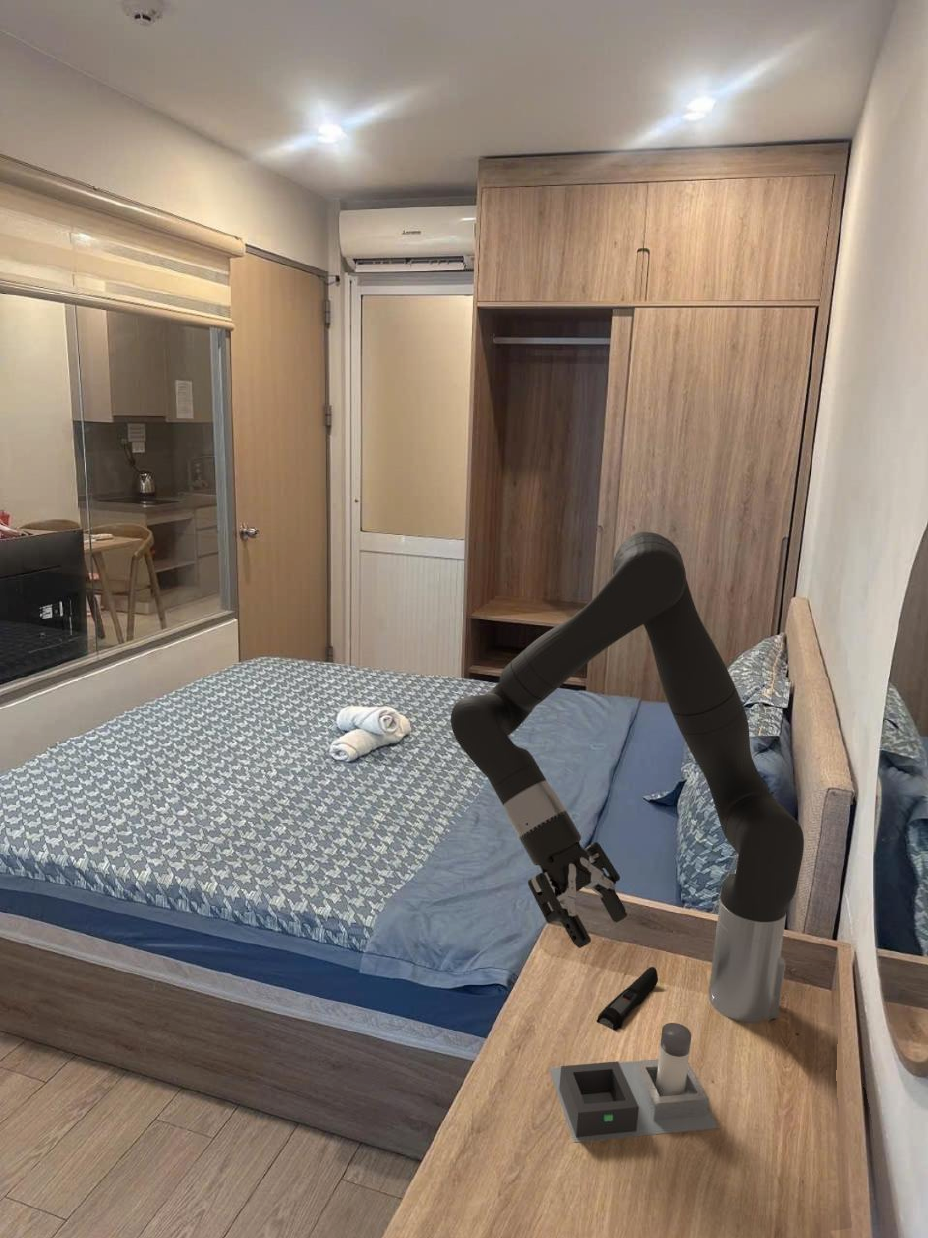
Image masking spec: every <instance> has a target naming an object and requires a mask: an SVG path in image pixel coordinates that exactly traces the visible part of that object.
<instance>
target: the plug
mask: <svg viewBox="0 0 928 1238" xmlns="http://www.w3.org/2000/svg"><path fill="white" fill-rule="evenodd" d="M691 1042H692V1032H691V1031H690V1029H689V1028H687V1026H685V1025H684V1024H680V1023H676V1022H668V1023H666V1024H664V1025H663V1026H662V1029H661V1037H660V1043H659V1044H660V1046H659V1054H658V1059H659V1062H658V1071H657V1080H656V1090H657V1092H658V1094H659V1096H660V1097H662V1096H673V1095H684V1094H685V1085H686V1077H687V1069H688V1063H689V1061H690V1060H689V1059H690V1050H691Z"/></svg>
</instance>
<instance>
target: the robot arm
mask: <svg viewBox="0 0 928 1238" xmlns="http://www.w3.org/2000/svg"><path fill="white" fill-rule="evenodd" d="M686 572H687V571H686V568H685V563H684V560H683V558H682V554H681V553H680V550H679V548H678V547H677V546H676V545H675V544H674V543H673V542H672V541H670V539H668V538H667V537H665V536H663V535H661V534H659V533H655V532H652V531H651V532H649V531H641V532H637V533H634V534H632V535H630V536H628V538H626V539H625V540H624V541H623V542H622V543H621V545H619V548H618V549H617V551H616V554H615V555H614V559H613V564H612V575H611V577H610V578H609V579H608V581H607V582H606V583H605V584H604V586H603V587H602V588H601V590H600V591H599V592H598V593H597V594H596V595H595V596H594V597H593V598H592V600H591V601H589V603H588V604H586V605H585V606H584V607H583V608H582V609H581V610H579V611H577V612H576V613H575V614H574V615H573V616H571V617H569V618H568V619H567V620H565V621H563V622H562V623H560V624H558V625H556V626H555V627H553V628H551V629H550V630H548V631H546V632H545V633H544V634H542V635H540V636H539V637H538V638H536V639H535V640H533V642H531V643H530V644H529V645H528V646H527V647H526V648H525V649H524V650H522V651H521V652H520V653H519V654H518V655H517V656H516V657H515V658H514V659H512V660H511V661H510V662H509V663H508V664H507V665H506V666H505V667H504V669H502V670H501V672H500V675H499V681H498V683H497V684H496V685H494V687H493V688H492V689H490V690H488V692H486V693H485V694H480V695H479V694H478V695H471V696H465V697H464V698H461V699H460V700H458V701H457V702H456V703H455V705H454V706H453V708H452V710H451V712H450V713H451V714H450V726H451V727H450V728H451V731H452V733H453V735H454V737H455V740H456V741H457V744H458V745H459V746H460V747H461V749H462V750H463V751H464V753H465V754H466V755H467V757H468V758H469V759H470V760H471V761H472V762H473V763H474V764H475V766H476V767H477V768H478V769H479V770H480V771H481V772H482V773H483V774H484V776H486V778H488V780H489V783H490V784H491V786H492V789H493V790H494V792H495V794H496V796H497V797H498V800H499V801H500V803H501V804H502V806H503V808H504V811H505V813H506V816H507V818H508V820H509V823H510V825H511V826H512V828H513V830H514V831H515V834H516V835H517V837H518V839H519V841H520V842H521V845H522V846H523V848H524V849H525V851H526V853H527V855H528V857H529V859H530V860H531V862H532V864H533V865H534V866H538V867H540V869H541V872H540V873H538V874H536V875H535V876H533V877H531V878H530V879H529V880H528V881H527V884H528V886H529V889H530V892H531V893H532V895H533V897H534V899H535V900H536V903H537V905H538V907H539V909H540V911H541V913H542V915H543V917H544V919H545V921H546V922H547V923H548V924H552V923H554V922H555V923H556V922H559V923H561V925H562V926H563V928H564V929H565V931H566V933H567V935H568V936H569V938H570V940H571V942H572V944H573V945H575V946H576V947H577V948H579V949H581V948H583V947H585V946H587V945H589V944H590V943H591V942H592V939H591V936H590V935H589V933H588V931H587V930H586V928H585V926H584V924H583V922H582V921H581V918H580V917H579V915H578V914H576V906H575V900H576V898H577V892H579V891H580V890H582V889H583V888H584V889H585V890H586V889H587V890H590V891H591V890H592V891H593V892H594V893H596V894H598V895H599V896H600V898H599V899H600V900H601V902H602V904H603V906H604V908H605V909H606V911H607V913H608V914H609V916H610V918H611V919H612V921H613V922H614V923H618V922H621V921H623V920H624V919H626V918H627V916H628V913H627V911H626V907H625V906H624V904H623V903H622V901H621V899H620V897H619V895H618V893H617V891H616V890H615V889H616V884H617V882H619V881H620V879H621V876H620V874H619V872H618V871H617V870H616V868H615V867H614V865H613V863H612V862H611V860H610V859H609V857H608V856H607V854H606V852H605V851H604V849H603V848H602V847H601V845H600V842H599V843H598V842H597V841H596V842H593V843H591V844H590V845H588V846H587V847H582V845H581V844H580V841H581V840H582V835H581V834H580V831H579V830H578V829H577V827H576V825H575V823H574V822H573V820H572V818H571V817H570V815H569V813H568V811H567V809H566V807H565V806H564V804H563V803H562V801H561V799H560V797H559V796H558V794H557V792H556V791H555V790H554V789H553V787H552V786H551V784H550V783H549V782H548V780H547V778H546V777H545V775H544V773H543V772H542V770H541V769H540V766H539V765H538V763H537V761H536V760H535V758H534V757H533V755H532V754H531V752H530V751H528V750H527V749H526V748H523V747H520V746H518V745H516V744H515V743H514V742H513V741H512V739H511V738H510V737H509V736H510V735H511V734H513V733H514V732H515V731H516V730H517V729H518V728H519V727H520V726H521V725H522V724H523V723H524V721H525V720H526V719H527V718H528V717H529V715H531V713H532V712H533V711H534V709H535V708H536V706H538V705H539V704H541V703H542V702H543V701H544V700H546V699H547V698H548V697H549V696H551V694H553V693H554V692H555V691H557V690H558V688H560V687H561V686H562V685H563V684H565V683H566V681H568V680H569V679H570V678H571V677H572V676H573V675H574V674H576V673H577V672H578V671H579V670H580V669H581V668H583V667H584V666H585V665H587V664H588V663H589V662H590V661H591V660H593V659H594V658H595V657H596V656H599V654H600V653H602V652H603V651H605V650H606V649H607V648H609V647H610V646H611V645H614V643H616V642H618V641H619V640H620V639H622V638H624V636H627V635H628V634H630V633H631V632H633V631H634V630H636V629H637V628H639V627H641V626H644V629H645V631H646V633H647V636H648V638H649V641H650V645H651V647H652V648H651V649H652V653H653V657H654V660H655V663H656V669H657V673H658V676H659V680H660V682H661V686H662V690H663V693H664V695H665V698H666V699H665V700H666V701H667V704H668V706H669V709H670V711H671V714H672V716H673V718H674V721H675V723H676V725H677V727H678V729H679V731H680V733H681V735H682V737H683V739H684V741H685V743H686V746H687V747H688V749H689V751H690V753H691V755H692V757H693V758H694V760H695V762H696V764H697V766H698V767H699V769H700V770H701V772H702V774H703V776H704V778H705V781H706V783H707V785H708V788H709V792H710V795H711V798H712V800H713V805H714V807H715V811H716V814H717V817H718V820H719V821H718V822H719V824H720V827H721V830H722V833H723V835H724V837H725V838H726V840H727V842H728V843H729V844H730V846H731V847H732V848H733V850H734V851H735V852H736V853H737V862H736V863H737V864H736V868H735V873H732V874H729V875H728V876H726V877H725V878H724V880H723V881H722V884H721V889H720V898H719V904H718V905H719V906H718V912H717V913H718V914H717V920H716V921H717V922H716V928H715V929H716V931H715V938H714V939H715V940H714V946H713V956H712V962H711V969H710V971H711V973H710V979H709V987H708V1000H709V1003H710V1004H711V1005H712V1007H713V1008H714V1009H715V1010H716V1011H717V1012H718V1013H720V1014H721V1015H723V1016H724V1017H726V1018H728V1019H730V1020H733V1021H736V1022H741V1023H744V1024H745V1023H746V1024H759V1023H762V1022H765V1021H766V1022H768V1023H769V1022H770V1021H771V1020H772V1019H778V1018H779V1010H780V1003H781V998H782V991H783V982H784V976H785V969H786V959H784V958H783V956H782V955H781V954H782V947H783V940H784V933H785V926H786V918H787V911H788V906H789V904H790V903H791V901H792V900H793V899H794V896H795V894H796V890H797V887H798V882H799V876H800V871H801V866H802V862H803V855H804V849H805V847H804V846H805V837H804V832H803V829H802V826H801V825H800V823H799V822H798V821H797V819H796V818H795V817H793V816H792V815H791V814H790V813H789V812H788V810H787V809H785V808H784V806H783V805H781V804H780V803H779V802H778V801H777V800H776V799H775V797H773V795H772V794H771V792H770V790H769V788H768V787H767V786H766V784H765V782H764V780H763V778H762V777H761V775H760V772H759V771H758V768H757V766H756V764H755V761H754V759H753V756H752V752H751V741H750V740H751V739H750V737H751V736H750V726H749V720H748V716H747V712H746V710H745V707H744V704H743V702H742V700H741V697H740V695H739V692H738V690H737V687H736V685H735V683H734V680H733V678H732V675H731V674H730V673H729V670H728V668H727V666H726V663H725V661H724V660H723V658H722V656H721V654H720V652H719V651H718V648H717V647H716V645H715V643H714V641H713V640H712V638H711V636H710V634H709V633H708V631H707V629H706V627H705V626H704V624H703V622H702V620H701V618H700V615H699V613H698V611H697V607H696V606H695V603H694V602H695V601H694V599H693V596H692V593H691V589H690V586H689V584H688V580H687V573H686ZM604 869H605V870H606V872H607V874H608V875H607V874H606V872H605V871H604Z"/></svg>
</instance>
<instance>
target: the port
mask: <svg viewBox="0 0 928 1238" xmlns="http://www.w3.org/2000/svg"><path fill="white" fill-rule="evenodd" d="M619 1063H620V1062H619V1061H618V1060H617V1061H606V1062H595V1063H593V1062H592V1063H584V1064H583V1063H582V1064H581V1063H580V1064H572V1065H561V1066H560V1068H561V1073H560V1086H559V1090H560V1093H561V1096H562V1099H563V1102H564V1104H565V1107H566V1110H567V1113H568V1116H569V1119H570V1122H571V1124H572V1127H573V1130H574V1133H575V1136H576V1137H584V1136H594V1135H604V1134H614V1133H624V1132H634V1131H636V1130H637V1120H638V1111H639V1106H638V1104H637V1102H636V1100H635V1097H634V1095H633V1093H632V1091H631V1089H630V1087H629V1084H628V1082H627V1080H626V1078H625V1076H624V1073H623V1071H622V1069H621V1067H620V1065H619ZM606 1092H610V1094H611V1096H612V1098H613V1102H602V1103H592V1104H585V1103H584V1101H583V1098H582V1095H584V1094H595V1093H606Z"/></svg>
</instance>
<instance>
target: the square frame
mask: <svg viewBox="0 0 928 1238" xmlns="http://www.w3.org/2000/svg"><path fill="white" fill-rule="evenodd" d="M658 1062H659V1060H656V1061H644V1062H635V1071H634V1080H635V1082H636V1085H637V1087H638V1089H639V1091H640V1093H641V1095H642V1097H643V1099H644V1102H645V1104H646V1106H647V1108H648V1110H649V1112H650V1114H651V1117H652V1119H653V1121H656V1120H666V1119H676V1118H686V1117H696V1116H707V1109H709V1102H710V1101H709V1100H710V1099H709V1096H708V1095H707V1093H706V1091H705V1089H704V1087H703V1086H702V1084H701V1081H700V1080H699V1079H698V1077H697V1075H696V1073H695V1072H694V1070H693V1068H692V1066H691V1065H690V1062H688V1069H687V1077H686V1085H685V1091H686V1093H687V1094H684V1095H673V1096H662V1097H660V1096H659V1094H658V1092H657V1090H656V1088H655V1086H654V1084H653V1083H656V1080H657V1071H658Z"/></svg>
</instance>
